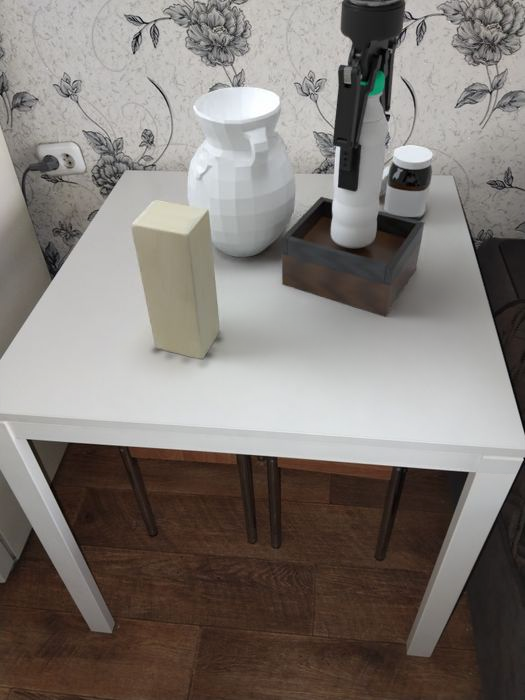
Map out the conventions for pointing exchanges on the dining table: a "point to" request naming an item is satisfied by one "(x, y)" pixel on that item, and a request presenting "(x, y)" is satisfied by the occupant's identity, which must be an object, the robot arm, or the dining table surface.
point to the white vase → (242, 170)
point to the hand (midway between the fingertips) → (358, 176)
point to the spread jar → (407, 182)
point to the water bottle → (362, 179)
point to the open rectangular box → (351, 260)
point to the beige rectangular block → (178, 276)
